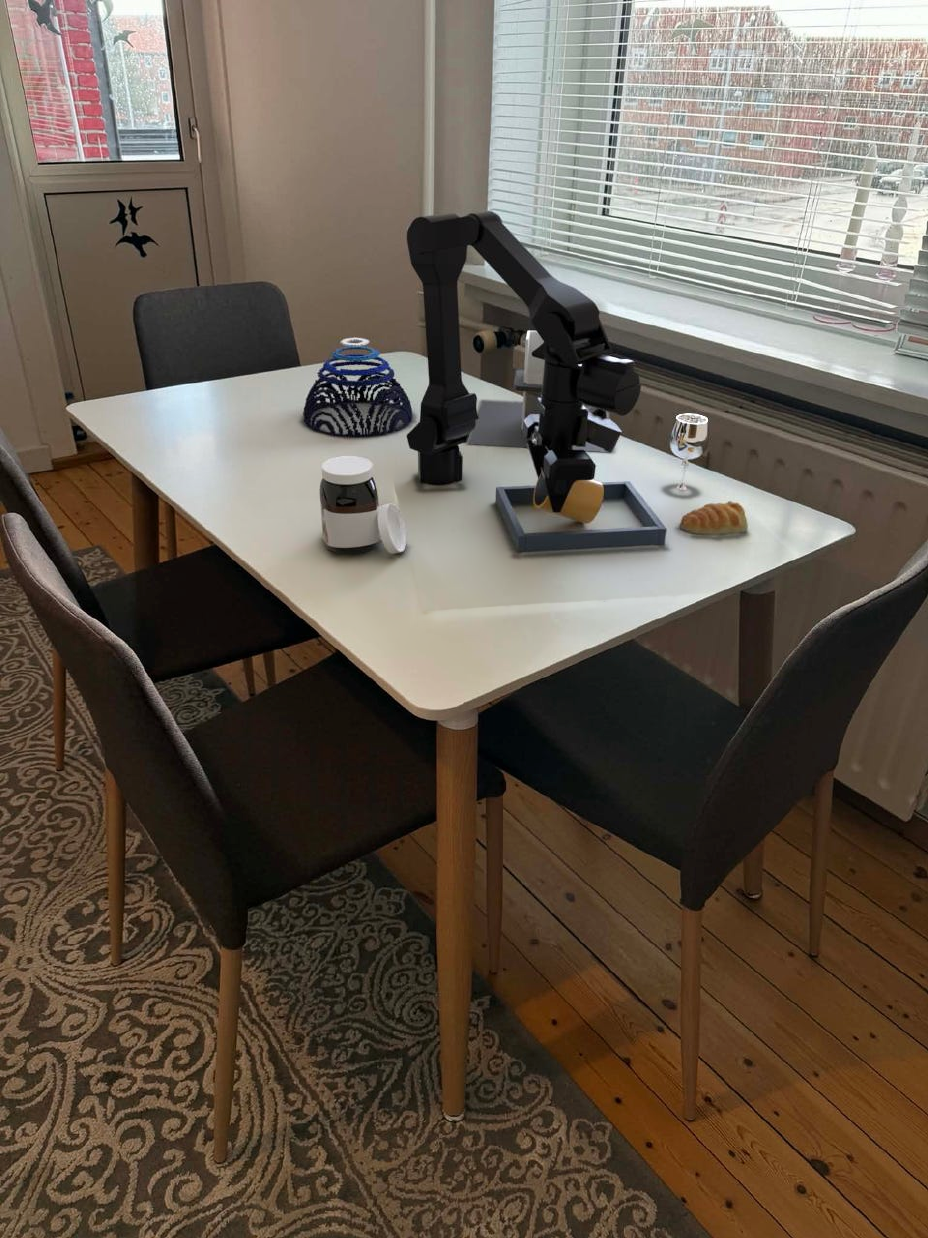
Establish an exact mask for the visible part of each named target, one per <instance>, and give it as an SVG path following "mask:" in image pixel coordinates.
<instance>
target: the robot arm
mask: <svg viewBox="0 0 928 1238" xmlns="http://www.w3.org/2000/svg"><path fill="white" fill-rule="evenodd" d="M406 244H407V250H408V255H409V260H410V265H411V267H412V268H413V270H414V272H415V273H416V275H417V276H418V278H419V280H420V282H421V283H422V291H423V292H422V293H423V309H424V323H425V325H424V326H425V338H426V341H425V342H426V353H427V354H426V355H427V370H428V371H427V373H428V385H427V388H426V390H425V392H424V395H423V397H422V400H421V402H420V409H419V410H420V413H419V414H420V415H419V422H417V424H416V425H415V426H414V427H413V428H412V429H410V431H409V432H408V433H407V434H406V439H407V444H408V447H409V449H410V450H413V451H415V452H417V478H418V480H419V484H426V485H430V486H437V487H438V486H447V485H451V484H454V483H458V482H459V481H460V482H461V481H462V480H463V473H464V472H463V468H464V467H463V466H464V464H463V463H464V458H463V457H464V456H463V453H462V452H461V450H460V446H459V445H462V444H466V443H468V441H469V438H470V435H471V433H472V432H473V431H474V428H475V424H476V421H477V419H479V417H478V415H479V413H478V410H477V404H478V397H477V394H476V393H475V392H469V390H468V389H467V387H466V385H465V384H464V382H463V378H462V377H463V375H462V356H461V355H462V353H461V334H460V332H461V331H460V313H459V312H460V311H459V291H458V290H459V289H458V282H459V278H460V276H461V273H462V271H463V268H464V267H465V264H466V261H467V255H468V254H467V253H468V246H471V247H472V248H473V249H474V250H475V251H476V253H478V254H479V255H480V257H481V258H482V259H483V260H484V261H485V262H486V263H487V264H488V265H489V266H490V268H491V269H493V271H494V272H495V273H496V274H497V275H498V276H499V277H500V279H502V280H503V281H504V282H505V284H506V285H507V286H508V288H510V289H511V290H512V291H513V292H514V293H515V294H516V296H517V297H518V298H520V300H521V301H522V302H523V304H524V305H525V307H526V308H527V310H528V315H529V321H530V323H531V325H532V326H533V328H534V330H535V331H537V332H538V334H539V335H540V337H541V338H542V340H543V341H544V342H543V343H542V344H541V345H540V346H539V347H538V348H537V349H535V350H534V351H532V353H531V354H532V356H533V357H536V358H539V359H543V360H545V362H544V373H543V383H542V394H541V398H537V406H538V407H539V409H540V414H530V415H529V416H527V417H526V418H525V419H524V420H523V430H522V433H523V434H524V436H525V438H530V437H531V433H532V440H526V444H527V446H528V447H527V449H528V452H529V456H530V459H531V461H532V464H533V468H534V471H535V474H536V477H537V479H538V478H539V476H540V474H541V473H542V475H543V478H544V482H545V486H546V489H547V493H548V497H549V501H550V505H551V508H552V511H553V512H554V513H559V512H561V510H562V507H563V505H564V503H565V501H566V498H567V496H568V494H569V492H570V490H571V488H572V486H573V484H574V482H576V481H577V480H592V479H594V480H595V477H596V467H597V464H596V463H595V462H594V460H593V459H592V458H591V456H590V455H589V453H588V452H587V451H584V450H573V446H577V447H585V444H586V442H588V443H590V444H593V445H596V446H598V447H601V448H604V450H605V451H608V452H607V453H612V452H613V451H614V449H615V447H616V445H617V443H618V441H619V439H620V437H621V435H622V434H623V431H622V430H621V428H620V427H619V426H618V425H617V424H616V423H615V422H614V421H613V420H612V419H611V418H609V419H606V411H608V412H609V413H610V414H614V415H617V416H621V417H624V416H627V415H628V414H629V413H630V412H632V411H633V409H634V408H635V406H636V404H637V403H638V400H639V397H640V394H641V390H642V389H641V388H642V384H641V383H640V377H639V374H638V373H637V372H636V371H635V365H636V364H635V361H634V360H631V359H627V358H618V357H614V356H610V355H612V354H613V353H614V350H613V348H612V344H611V343H610V340H609V338H608V336H607V333H606V330H605V328H604V326H603V323H602V321H601V319H600V315H601V314H600V313H601V312H600V310H599V307H598V305H597V304H596V302H594V300H592V299H591V298H589V296H587V295H586V294H585V293H583V292H581V291H580V290H579V289H577V288H576V287H574V286H571V285H569V284H567V283H564V282H563V281H560V280H558V279H557V278H555V277H554V276H553V275H552V274H551V273H550V272H549V271H548V270H547V269H546V268H545V266H544V265H542V264H541V262H539V260H537V258H536V257H535V256H534V255H533V254H532V253H531V252H530V251H529V250H528V249H527V248H526V247H525V245H523V243H521V241H519V240H518V238H517V237H516V236H515V235H514V234H513V233H512V231H510V229H508V227H506V225H504V223H503V219H502V218H501V217H500V214H497V213H496V212H494V211H491V210H485V211H478V212H471V213H468V214H466V215H464V216H459V215H457V214H456V213H454V212H447V213H439V214H438V213H437V214H430V215H422V216H418V217H415V218H414V219H413V220H412V221H411V223H410V225H409V226H408V227H407V230H406ZM587 342H588V343H589V344H588V345H584V346H581V347H577V348H576V347H575V346H577V345H580V344H583V343H587ZM585 405H586V406H587V407H591V408H590V409H588V410H587V409H586V408H585V407H586V406H585Z"/></svg>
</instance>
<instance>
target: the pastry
mask: <svg viewBox="0 0 928 1238" xmlns="http://www.w3.org/2000/svg"><path fill="white" fill-rule="evenodd" d="M748 527H749V525H748V519H747V517H746V511H745V509H744V507H743V506H742V505H741V504H740V503H739V502H733V501H731V500H729V501H727V502H725V503H722V502H717V503H712V502H711V503H707V504H704V505H703V506H701V507H699V508H697V509H693V510H691V511H689V512H687V513H686V514H685V515H683V516H682V517H681V519H680V523H679V528H680V529H681V530H683V531H684V532H687V533H689V534H693V535H711V536H713V535H714V536H720V535H726V534H727V535H730V534H731V535H732V534H738V533H746V531H747V530H748Z"/></svg>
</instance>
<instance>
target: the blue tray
mask: <svg viewBox="0 0 928 1238" xmlns="http://www.w3.org/2000/svg"><path fill="white" fill-rule="evenodd" d="M600 482H601V483H602V484H603V488H604V495H603V500H621V499H623V500H624V501H625V502H626V504H627V505H628V507H629V508H630V509H631V510H632V513H634V515H635V516H636V518H637V519H638V520H639V522H640V523H641V524H642V526H639V527H638V526H637V527H620V528H619V527H618V528H603V529H602V528H601V529H581V530H563V531H562V530H561V531H543V532H542V531H541V532H540V531H539V532H525V531H524V530H523V527H522V525H521V523H520V521H519V519H518V517H517V515H516V513H515V510H514V509H513V506H512V505H513V504H515V505H516V504H534V502H533V497H534V490H535V486H536V484H535V485H514V486H496V487H495V504H496V506H497V508H498V510H499V514H500V516H501V518H502V520H503V522H504V525H505V526H506V529H507V531H508V533H509V536H510V538H511V540H512V542H513V545H514V547H515V550H516V553H518V554H521V553H538V552H555V551H573V550H574V551H575V550H593V549H594V550H595V549H611V548H612V549H613V548H628V547H647V546H648V547H649V546H665V544H666V538H667V537H666V536H667V531H668V529H667V527H666V526H665V525H664V523H663V522H662V521H661V520H660V518H659V516H657V514H656V513H655V511H654V510H652V508H651V506H650V505H649V504H648V502H646V500H645V499H644V498H643V496H642V495H641V494H640V493H639V491H638V490H637V488H636V487H635V486H634V485H633V483H632V482H631V481H630V480H626V481H607V482H606V481H605V482H604V481H603V482H602V481H600Z"/></svg>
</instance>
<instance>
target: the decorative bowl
mask: <svg viewBox="0 0 928 1238" xmlns="http://www.w3.org/2000/svg"><path fill="white" fill-rule="evenodd" d="M352 342H353V343H352ZM357 342H358V343H357ZM370 343H371V342H370V340H369V339H367V338H362V337H349V338H347V337H346V338H344V339H341V340H340V342H339V344H341V345H342V346H344V347H341V348H338V349H335V350H333V352H331V356H332V357H331V358H329V359H327V360H326V361H325V362H324V363H323V364H322V367H321V368H320V369H318V372H317V377H318V379H315V382H314V383H313V385H312V386H311V388H310V390H309V391H308V394H307V397H306V398H305V402H304V407H303V412H302V414H303V423H305V425H306V427H307V428H310V429H311V430H313V431H315V432H317V433H322V434H326V435H330V436H333V437H336V436H337V437H345V438H365V437H366V438H369V437H370V438H371V437H377V436H383V435H384V436H385V435H387V434H391V433H395V432H399V431H401V430H403V429H405V428H406V427H407V426H409V425H410V424H411V423H412V421H413V409H412V404H411V400H410V399H409V396H408V395H407V392H406V391H405V389H404V388H403V387H402V385H401V383H400V382H398V381H397V379H396V378H394V377H395V374H396V373H395V369H393V368H391V366H390V364H389V362H388V361H387V360H386V359H384V358H383V357H380V352H379V351H378V350H376V349H374V348H373V347H369V346H366V345H368V344H370ZM350 350H364V351H369V352H370V353H369V354H366V353H365V354H363V353H348V354H342V353H341V352H343V351H350ZM339 360H341V361H340V362H339ZM370 360H375V361H370ZM334 361H336V362H334ZM337 361H338V362H337ZM376 361H378V362H376ZM332 362H333V363H332ZM344 366H345V367H346V366H370V368H361V369H358V368H357V369H348V368H340V369H338V367H344ZM386 370H387V371H388V372H387V373H384V372H385V371H386ZM324 372H328V373H324ZM350 376H351V377H353V376H354V377H357V376H358V379H357V380H348V377H350ZM338 378H339V379H338ZM334 385H335V386H337V387H338V389H336V388H335V386H334ZM344 387H345V388H346V389H345V388H344ZM339 391H340V392H339ZM371 391H372V392H371ZM365 392H366V393H365ZM370 392H371V393H370ZM323 393H324V394H323ZM369 393H370V395H369ZM375 393H376V395H375ZM358 395H359V397H358ZM374 395H375V396H374ZM327 399H328V400H329V401H327ZM391 401H392V402H391ZM357 403H370V406H369V408H368V411H367V414H366V418H363V414H362V411H361V410H360V409H359V408H358V405H357ZM338 405H339V407H338ZM379 405H380V406H379ZM378 406H379V408H378V410H377V411H375V410H376V407H378ZM327 407H329V408H330V409H331V410H333V411H334V412H335V413H337V417H338V419H339V420H340V421H341V423H342V422H343V427H345V429H343V427H342V426H341V423H340V422H339V420H338V419H337V418H336V417H335V416H334V415H333V413H331V412H327V411H323V410H320V409H322V408H327ZM391 407H393V408H391ZM340 408H341V409H342V411H344V412H345V414H346V415H347V416H348V418H349V421H350V424H351V425H352V428H351V425H349V423H348V420H347V419H346V418H345V416H344V414H343V413H342V412H341V409H340ZM350 408H351V410H352V411H351V410H350ZM390 408H391V409H390ZM389 409H390V410H389ZM398 409H400V410H398ZM318 410H320V411H318ZM396 410H398V411H396ZM316 411H318V412H316ZM315 412H316V413H315ZM314 413H315V414H314ZM393 413H394V414H393ZM313 414H314V415H313ZM386 414H387V415H386ZM322 415H323V416H327V417H330V418H331V420H332V421H333V423H335V426H336V427H337V429H338V433H336V430H335V426H334V425H333V424H332V422H331V421H330V420H326V419H322V418H319V417H320V416H322ZM374 415H375V417H374ZM354 416H355V417H356V419H357V420H359V421H356V420H355V417H354ZM385 416H386V417H385ZM318 418H319V419H318ZM373 418H374V422H373V427H372V420H373ZM384 418H385V420H384ZM364 420H365V421H364ZM399 422H402V425H401V426H398V425H399ZM378 424H379V425H378ZM323 425H324V426H325V427H326V429H328V431H325V430H322V429H320V428H322V426H323ZM358 426H359V428H360V429H361V431H359V429H358ZM344 430H345V431H347V433H344Z"/></svg>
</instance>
